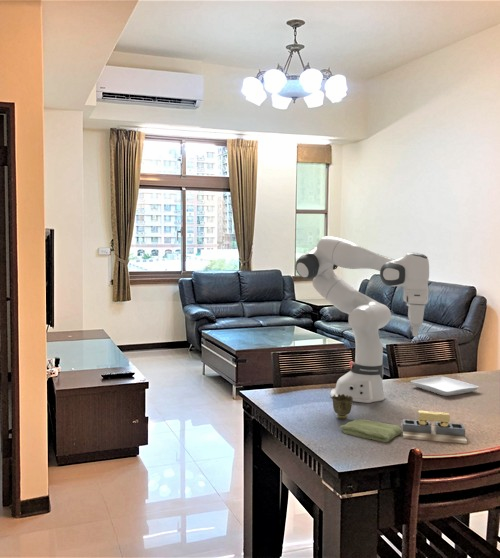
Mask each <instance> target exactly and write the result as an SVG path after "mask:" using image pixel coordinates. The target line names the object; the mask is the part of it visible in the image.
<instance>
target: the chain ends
mask: <svg viewBox="0 0 500 558" xmlns="http://www.w3.org/2000/svg"><path fill="white" fill-rule="evenodd" d="M401 423H402V427H401V430H402V429H403V431H405V432H417V433H428V434H431V425H432V423H431V421H427V425H419V419H418V420H417V419H415V420H414V419H406V418H405V419H403V418H402V419H401ZM434 429H435V432H436V434H439V435H451V436H462V437H465V438H466V428H465V425H464V424H463V423H453V422H448V427H440V422H439V421H434Z"/></svg>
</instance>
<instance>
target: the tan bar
mask: <svg viewBox="0 0 500 558" xmlns="http://www.w3.org/2000/svg"><path fill="white" fill-rule="evenodd" d="M417 418H418V420H419V425H427V421H430V422H440V427H448V423H451V414H450V413H449V412H443V411H431V410H430V411H428V410H418V411H417Z"/></svg>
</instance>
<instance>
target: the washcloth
mask: <svg viewBox="0 0 500 558" xmlns="http://www.w3.org/2000/svg"><path fill="white" fill-rule="evenodd" d="M340 429H341V430H342V431H343V434H345V435H349V436H355V437H359V438H363V439H368V440H371V439H372V440H371V441H376V440H378V441H377V442H381V441H383V442H382V443H388V442H390V441H391V440H393V439H394V438H395V437H397V436H399V435H400V434H402V428H401V427H400V426H399V425H396V424H390V423H389V424H388V423H384V422H379V421H374V420H368V419H364V418H363V419H362V418H358V419H354V420H351V421H348V422H347V423H346V424H342V425H340Z"/></svg>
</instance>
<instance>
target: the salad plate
mask: <svg viewBox="0 0 500 558" xmlns="http://www.w3.org/2000/svg"><path fill="white" fill-rule="evenodd" d="M410 383H411V384H412V385H413V386H415V387H417V388H420V389H421V388H422V390H424V391H427V390H428V391H427V392H430V391H431V393H433V392H434V393H433V394H436V393H437V394H436V395H441V396H445V397H451V396H455V395H456V396H457V395H462V394H467V393H472V392H475V391H476V390H478V389H479V388H480V386H478V385H476V384H472V383H470V382H469V383H468V382H466V381H462V380H458V379H455V378H454V379H453V378H451V377H446V376H443V375H442V376H440V375H439V376H431V377H427V378H426V377H425V378H419V379H414V380H413V379H412V380H410Z"/></svg>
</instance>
